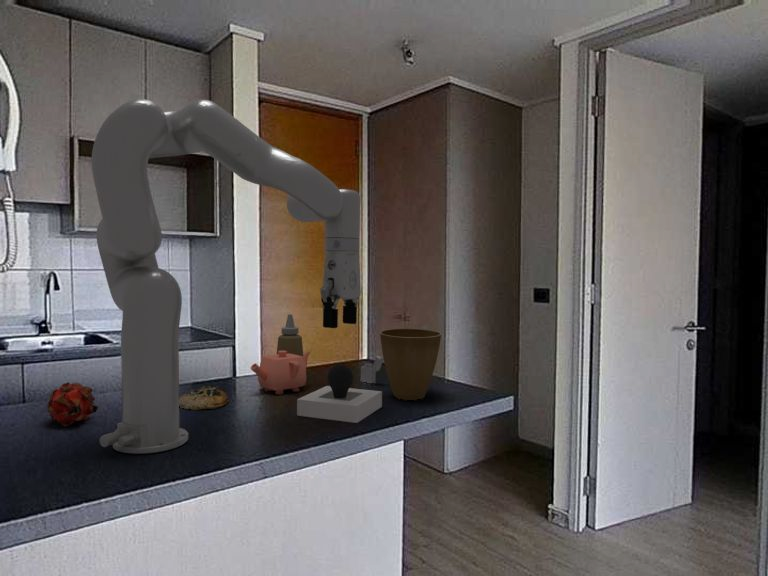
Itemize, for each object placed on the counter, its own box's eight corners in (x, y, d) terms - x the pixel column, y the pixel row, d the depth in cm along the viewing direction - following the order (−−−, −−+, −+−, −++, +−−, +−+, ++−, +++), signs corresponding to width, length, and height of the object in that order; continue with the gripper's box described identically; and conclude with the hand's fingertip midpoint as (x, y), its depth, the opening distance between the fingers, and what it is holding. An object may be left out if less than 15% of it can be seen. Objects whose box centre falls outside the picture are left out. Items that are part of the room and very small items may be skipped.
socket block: (357, 423, 115) (357, 406, 115) (297, 415, 120) (297, 399, 120) (381, 406, 129) (382, 391, 128) (326, 400, 134) (326, 385, 133)
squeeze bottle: (273, 377, 159) (273, 313, 158) (302, 375, 162) (302, 313, 161) (276, 383, 151) (277, 316, 151) (306, 381, 154) (307, 315, 153)
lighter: (360, 382, 154) (360, 353, 153) (364, 381, 155) (365, 352, 155) (379, 386, 149) (380, 356, 149) (384, 385, 150) (384, 355, 150)
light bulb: (354, 406, 127) (354, 362, 126) (350, 413, 121) (350, 366, 121) (330, 405, 127) (330, 361, 127) (325, 412, 122) (325, 366, 121)
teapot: (296, 398, 136) (296, 356, 135) (249, 395, 137) (249, 354, 137) (312, 385, 150) (312, 347, 149) (269, 383, 151) (269, 345, 151)
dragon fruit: (73, 420, 120) (79, 444, 110) (35, 402, 115) (37, 426, 106) (99, 387, 122) (107, 408, 112) (63, 368, 117) (67, 388, 107)
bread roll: (218, 396, 137) (218, 376, 136) (235, 412, 128) (236, 391, 127) (171, 404, 130) (171, 383, 129) (185, 422, 121) (185, 400, 121)
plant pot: (366, 396, 138) (367, 331, 137) (408, 387, 148) (409, 326, 147) (410, 408, 127) (411, 338, 126) (452, 397, 137) (454, 332, 137)
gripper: (340, 245, 113) (338, 330, 114) (372, 248, 129) (371, 323, 130) (307, 245, 116) (305, 328, 117) (343, 248, 132) (341, 321, 133)
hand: (340, 325), depth 123 cm, fingers open, 9 cm apart
